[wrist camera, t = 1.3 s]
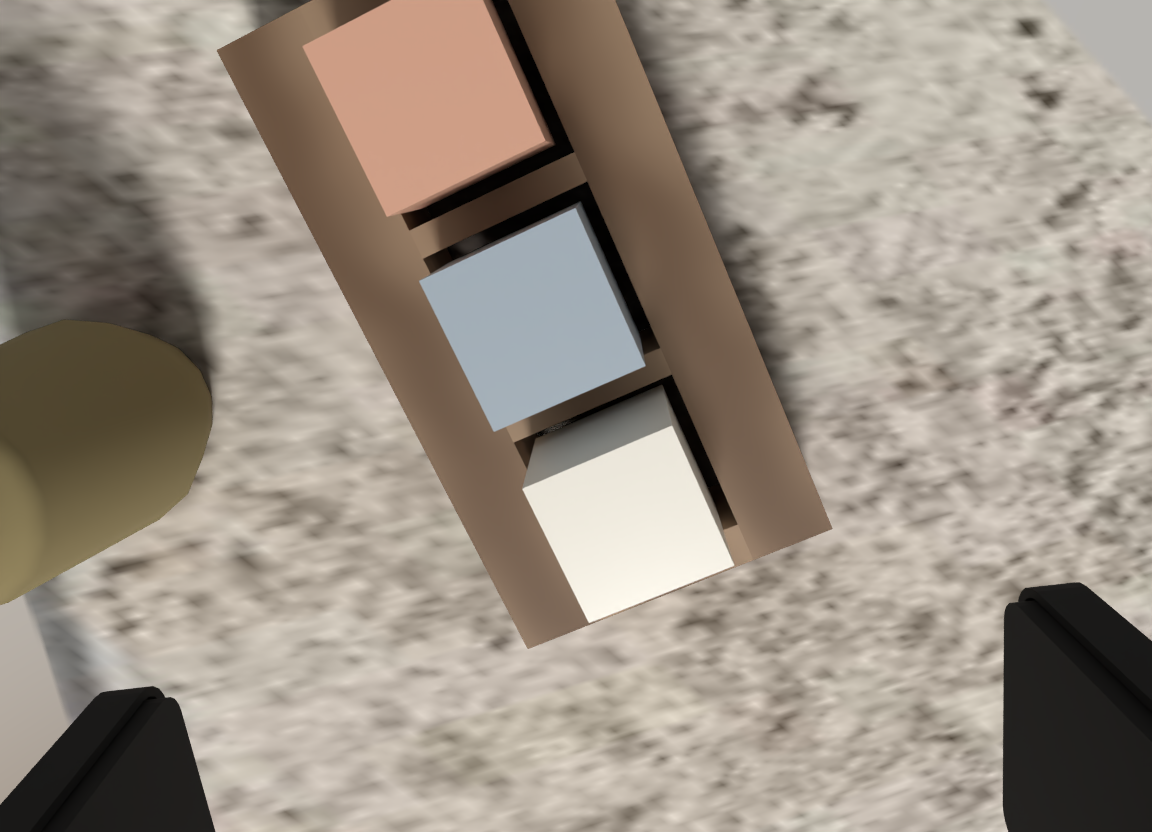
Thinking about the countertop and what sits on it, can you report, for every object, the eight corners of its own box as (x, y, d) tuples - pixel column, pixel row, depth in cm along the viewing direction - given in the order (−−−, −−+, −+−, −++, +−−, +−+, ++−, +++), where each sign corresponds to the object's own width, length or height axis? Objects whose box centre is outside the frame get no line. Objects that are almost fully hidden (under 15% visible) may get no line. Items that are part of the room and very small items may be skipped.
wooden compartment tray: (567, -90, 31) (561, -131, 27) (806, 485, 36) (832, 528, 32) (268, 65, 33) (216, 50, 29) (536, 594, 38) (527, 648, 34)
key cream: (662, 384, 32) (672, 425, 27) (715, 504, 33) (734, 565, 28) (535, 438, 33) (522, 489, 28) (591, 554, 34) (589, 623, 29)
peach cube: (490, -3, 29) (465, -39, 24) (555, 144, 30) (545, 140, 25) (354, 66, 30) (301, 45, 25) (423, 208, 31) (386, 216, 26)
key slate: (580, 201, 31) (575, 207, 26) (639, 333, 32) (645, 365, 27) (449, 262, 31) (418, 281, 26) (511, 390, 33) (493, 431, 27)
